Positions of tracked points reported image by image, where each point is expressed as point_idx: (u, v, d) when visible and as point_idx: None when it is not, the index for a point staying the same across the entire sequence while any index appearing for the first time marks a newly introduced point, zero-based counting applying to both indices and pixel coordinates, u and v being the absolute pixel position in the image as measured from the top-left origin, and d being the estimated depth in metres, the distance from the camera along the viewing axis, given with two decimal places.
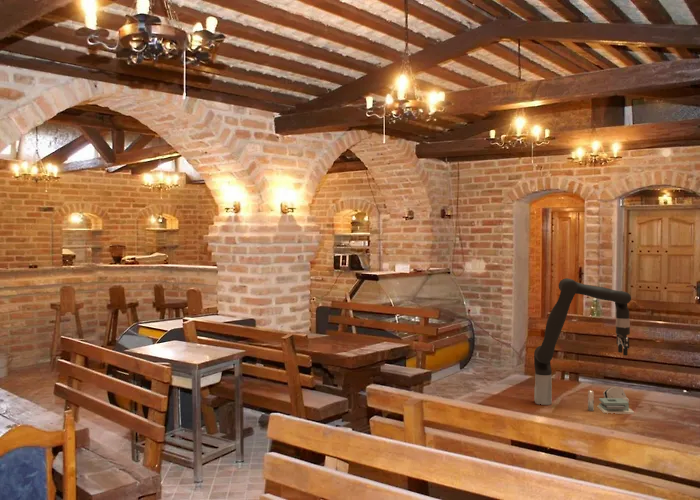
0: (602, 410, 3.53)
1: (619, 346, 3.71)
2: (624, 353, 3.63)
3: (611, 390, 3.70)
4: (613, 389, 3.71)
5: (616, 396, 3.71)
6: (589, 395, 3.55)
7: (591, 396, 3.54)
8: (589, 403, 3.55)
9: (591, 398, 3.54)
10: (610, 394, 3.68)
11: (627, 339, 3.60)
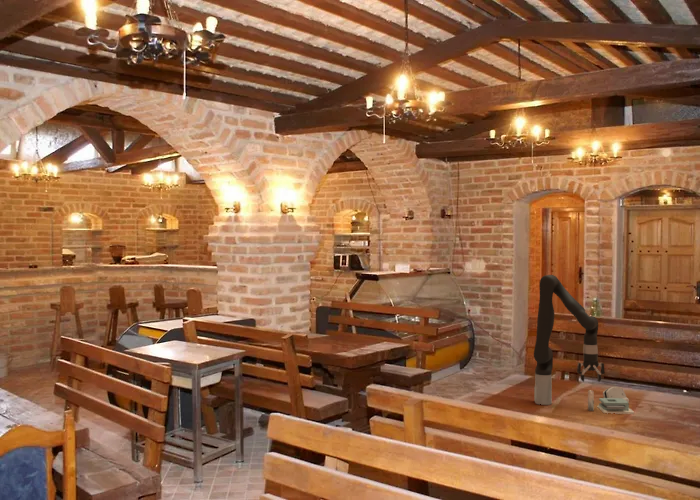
0: (602, 410, 3.53)
1: None
2: (600, 379, 3.55)
3: (611, 390, 3.70)
4: (613, 389, 3.71)
5: (616, 396, 3.71)
6: (589, 395, 3.55)
7: (591, 396, 3.54)
8: (589, 403, 3.55)
9: (591, 398, 3.54)
10: (610, 394, 3.68)
11: None
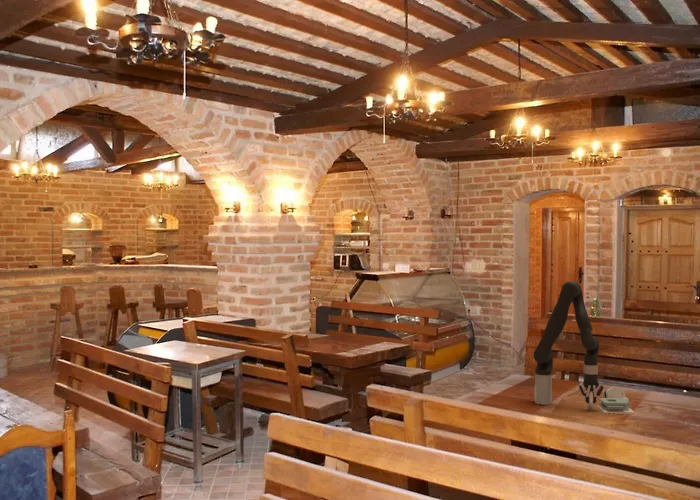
0: (602, 410, 3.53)
1: None
2: (595, 401, 3.55)
3: (610, 390, 3.70)
4: (612, 389, 3.71)
5: (615, 396, 3.71)
6: (589, 395, 3.55)
7: (591, 396, 3.54)
8: (589, 403, 3.55)
9: (591, 398, 3.54)
10: (609, 394, 3.69)
11: None
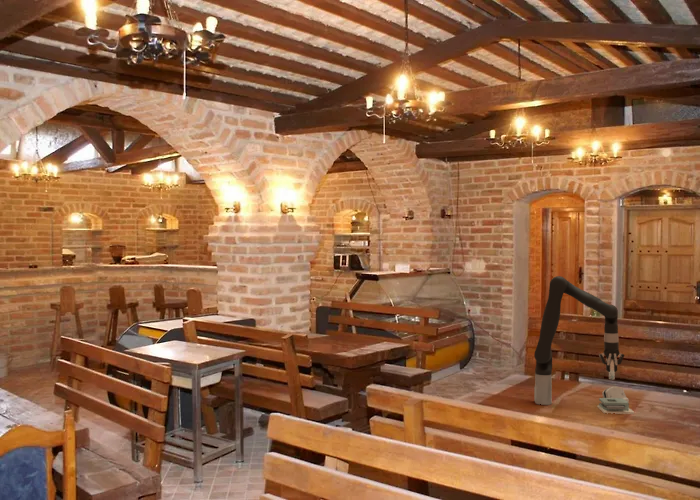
0: (602, 410, 3.53)
1: None
2: (616, 369, 3.55)
3: (610, 390, 3.70)
4: (612, 389, 3.72)
5: (615, 396, 3.71)
6: (610, 363, 3.55)
7: (612, 364, 3.55)
8: (610, 371, 3.55)
9: (612, 366, 3.55)
10: (609, 394, 3.69)
11: None
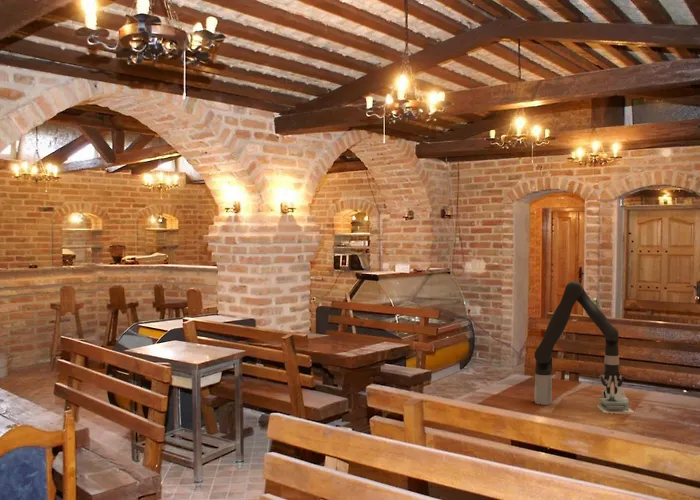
0: (602, 410, 3.53)
1: None
2: (616, 391, 3.56)
3: None
4: None
5: (615, 396, 3.71)
6: (610, 386, 3.56)
7: (612, 386, 3.55)
8: (610, 393, 3.56)
9: (612, 388, 3.55)
10: None
11: None
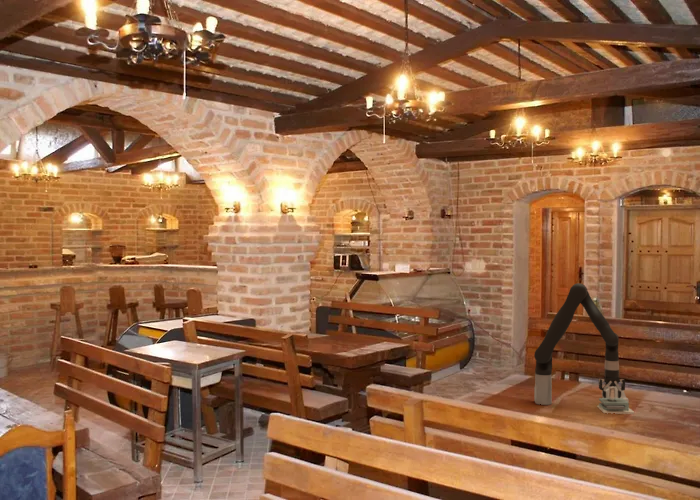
0: (602, 410, 3.53)
1: None
2: (620, 395, 3.56)
3: None
4: None
5: (615, 396, 3.71)
6: (610, 393, 3.56)
7: (612, 394, 3.55)
8: None
9: (612, 396, 3.55)
10: (608, 394, 3.69)
11: None
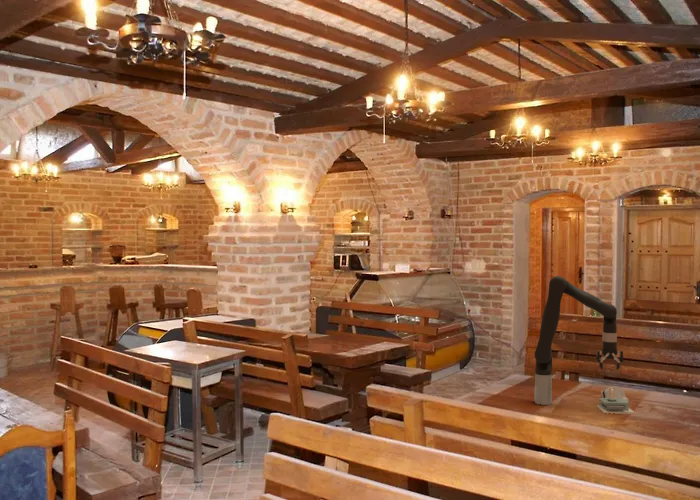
0: (602, 410, 3.53)
1: None
2: (618, 367, 3.57)
3: None
4: None
5: None
6: (610, 393, 3.56)
7: (612, 394, 3.55)
8: None
9: (612, 396, 3.55)
10: (608, 394, 3.69)
11: None
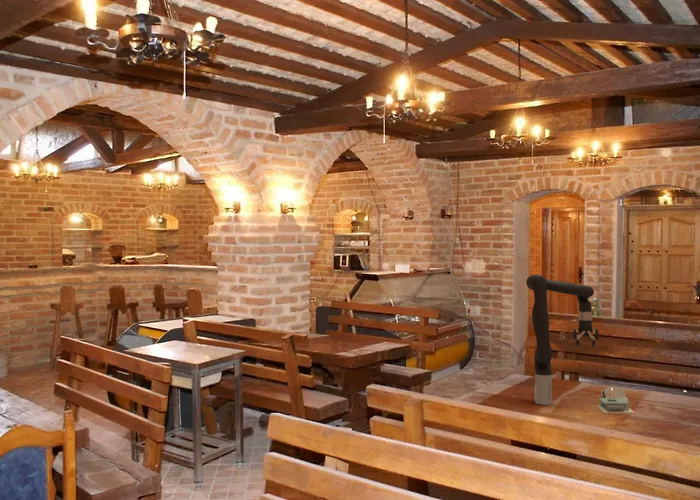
0: (602, 410, 3.53)
1: None
2: (594, 344, 3.76)
3: None
4: None
5: None
6: (610, 392, 3.56)
7: (612, 393, 3.55)
8: (610, 400, 3.56)
9: (612, 395, 3.55)
10: (608, 393, 3.69)
11: None
